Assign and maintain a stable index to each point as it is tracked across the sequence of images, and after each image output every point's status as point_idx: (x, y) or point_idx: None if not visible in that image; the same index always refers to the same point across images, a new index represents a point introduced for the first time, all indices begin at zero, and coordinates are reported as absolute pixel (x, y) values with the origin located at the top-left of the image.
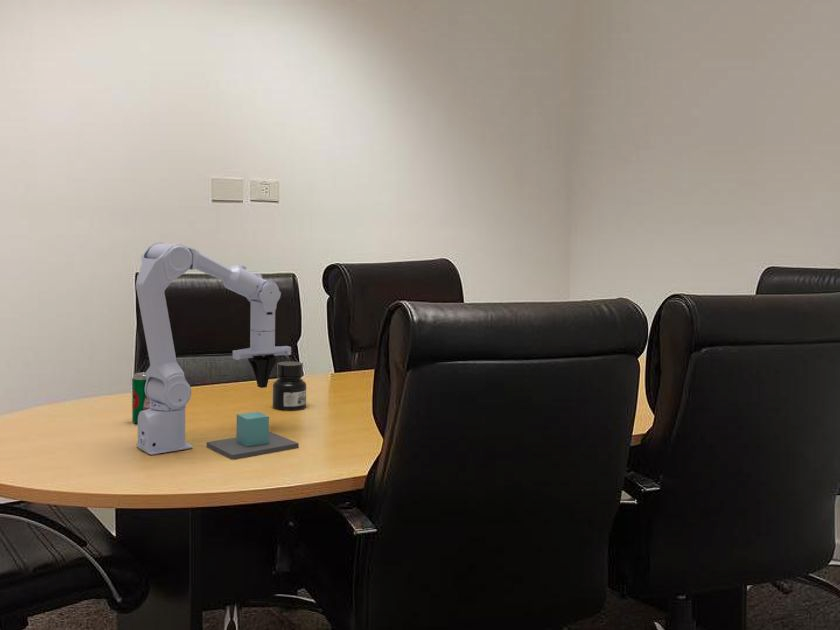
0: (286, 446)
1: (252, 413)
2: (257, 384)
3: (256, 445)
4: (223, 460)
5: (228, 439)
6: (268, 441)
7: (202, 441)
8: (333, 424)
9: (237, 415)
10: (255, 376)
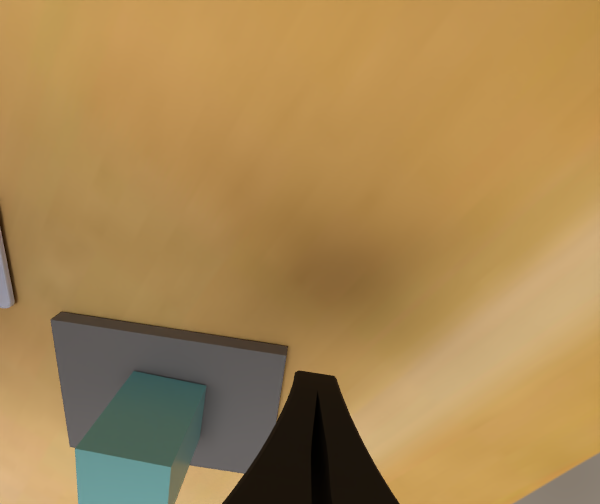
0: (230, 468)
1: (136, 471)
2: (293, 382)
3: None
4: (58, 426)
5: (123, 339)
6: (197, 442)
7: (71, 255)
8: (551, 374)
9: (77, 451)
10: (278, 420)
